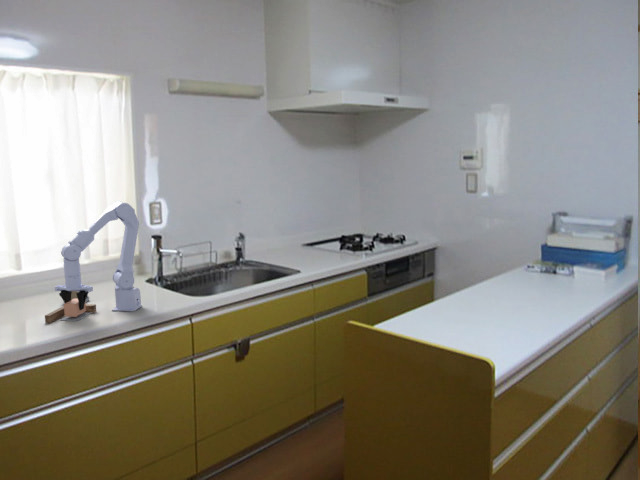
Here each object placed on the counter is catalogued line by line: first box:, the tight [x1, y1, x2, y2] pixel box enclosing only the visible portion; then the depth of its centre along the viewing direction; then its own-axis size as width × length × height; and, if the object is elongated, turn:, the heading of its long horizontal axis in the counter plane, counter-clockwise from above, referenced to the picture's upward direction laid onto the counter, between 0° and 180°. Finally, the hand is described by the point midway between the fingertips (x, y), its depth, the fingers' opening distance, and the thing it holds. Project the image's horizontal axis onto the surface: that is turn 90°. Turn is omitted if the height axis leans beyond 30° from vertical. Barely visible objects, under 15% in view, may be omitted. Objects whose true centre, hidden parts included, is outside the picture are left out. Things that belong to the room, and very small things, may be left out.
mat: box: [60, 312, 92, 322], centre depth 217 cm, size 7×10×1 cm
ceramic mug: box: [71, 291, 91, 303], centre depth 238 cm, size 11×8×8 cm
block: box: [63, 299, 87, 317], centre depth 216 cm, size 8×4×5 cm, turn 176°
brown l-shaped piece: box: [44, 303, 97, 324], centre depth 217 cm, size 12×16×3 cm
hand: (75, 309), depth 217 cm, fingers closed on block, 5 cm apart
